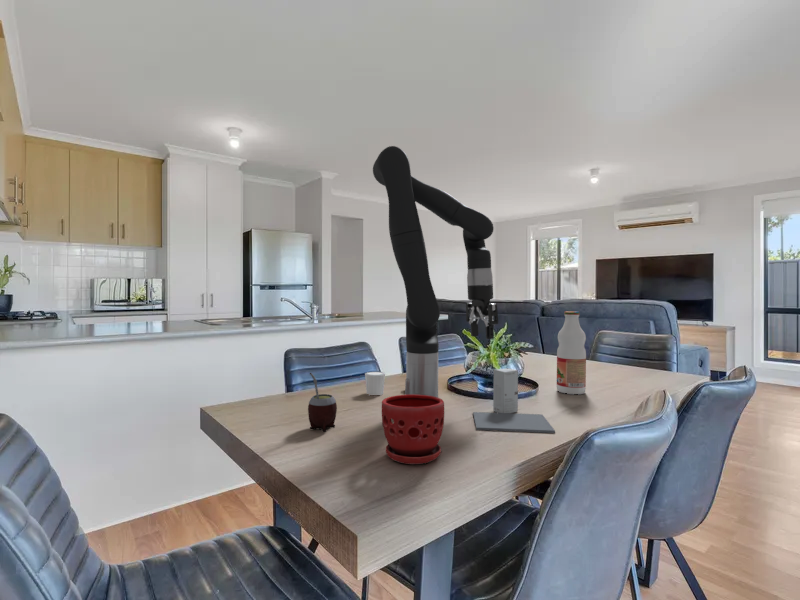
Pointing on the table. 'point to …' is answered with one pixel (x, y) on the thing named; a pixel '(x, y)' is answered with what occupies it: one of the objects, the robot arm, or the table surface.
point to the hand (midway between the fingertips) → (482, 337)
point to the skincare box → (505, 391)
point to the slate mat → (512, 422)
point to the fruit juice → (571, 356)
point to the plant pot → (413, 427)
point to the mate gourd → (321, 410)
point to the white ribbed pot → (374, 383)
